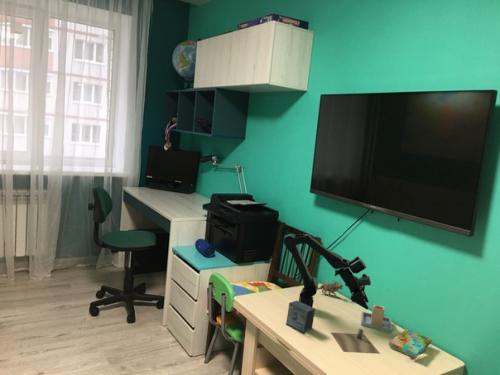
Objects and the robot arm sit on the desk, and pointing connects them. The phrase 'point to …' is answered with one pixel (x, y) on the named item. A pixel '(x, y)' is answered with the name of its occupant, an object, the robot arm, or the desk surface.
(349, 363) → the desk surface
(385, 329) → the grey tray
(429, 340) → the puzzle game
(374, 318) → the wooden pen holder
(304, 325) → the small box
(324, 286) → the dinosaur figurine
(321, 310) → the desk surface
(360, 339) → the walnut stake base
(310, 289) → the robot arm
